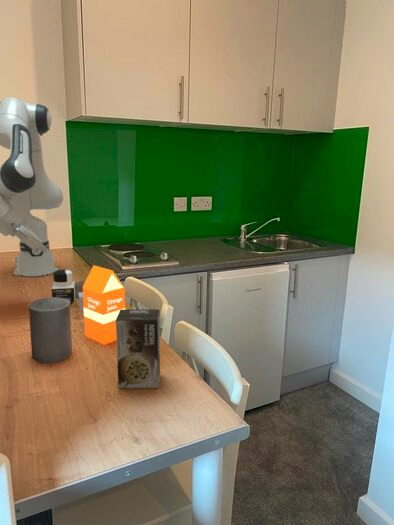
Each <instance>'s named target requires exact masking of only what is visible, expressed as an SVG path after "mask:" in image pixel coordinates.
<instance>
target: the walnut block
mask: <svg viewBox="0 0 394 525" xmlns="http://www.w3.org/2000/svg"><path fill="white" fill-rule="evenodd" d="M85 281H86V280H77V281H74V282H75V299H77V300H79V297H78V293H79V292H83V288H82V287H83V285H84V283H85Z"/></svg>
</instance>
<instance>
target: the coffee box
mask: <svg viewBox="0 0 394 525" xmlns="http://www.w3.org/2000/svg"><path fill="white" fill-rule="evenodd" d="M160 310H161V309H157V308H156V309H155V308H154V309H150V308H149V309H141V308H140V309H137V308H136V309H133V308H132V309H126V308H125V310H120V312H119V314H118V316H117V318H116V339H117V340H116V360H117V361H116V363H117V364H116V365H117V388H118V389H159V387H160V382H161V332H160V331H161V329H160V328H161V327H160V326H161V325H160V324H161V322H160V321H161V320H160V319H161V316H160V314H161V313H160V312H161V311H160Z"/></svg>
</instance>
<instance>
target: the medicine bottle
mask: <svg viewBox="0 0 394 525" xmlns="http://www.w3.org/2000/svg"><path fill="white" fill-rule="evenodd" d="M52 274H53V275H52V276H53V283H52V287H51V297H58V298H64V299H67V300H69V301H70V308H74V307H75V306H76V299H77V298H75V282H76V281H73V271H71V270H70V269H59V270H57V271H55V272H53V273H52Z"/></svg>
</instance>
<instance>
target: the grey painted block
mask: <svg viewBox="0 0 394 525" xmlns="http://www.w3.org/2000/svg"><path fill="white" fill-rule="evenodd" d="M78 297H79V299H78V310H79V312H84V302H83V292H79V293H78Z"/></svg>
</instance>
